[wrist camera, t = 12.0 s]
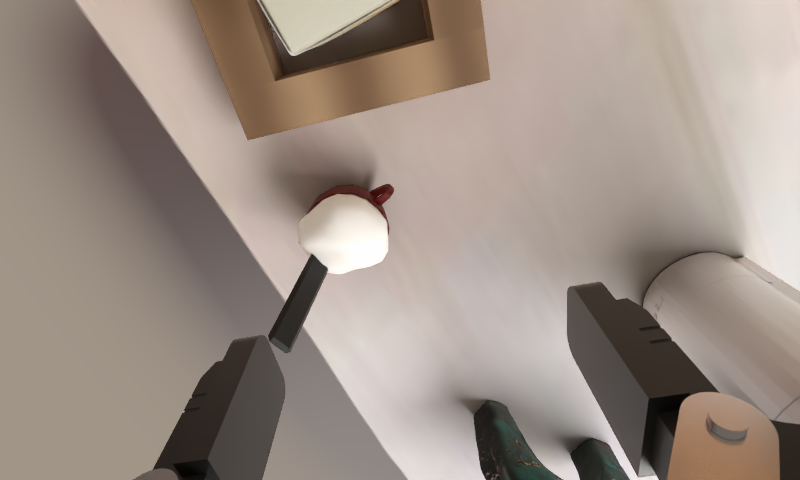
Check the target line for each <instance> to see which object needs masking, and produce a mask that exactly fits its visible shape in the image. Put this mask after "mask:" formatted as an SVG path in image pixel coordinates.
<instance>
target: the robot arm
mask: <svg viewBox="0 0 800 480" xmlns="http://www.w3.org/2000/svg"><path fill="white" fill-rule="evenodd" d="M567 337H568V343H569V347H570V350H571V353H572V355H573V357H574V359H575V361H576V363H577V365H578V367H579V369H580V371H581V372H582V374H583V376H584V378H585V380H586V382H587V384H588V385H589V387H590V389H591V391H592V393H593V395H594V397H595V398H596V400H597V402H598V404H599V406H600V408H601V410H602V411H603V413H604V415H605V417H606V419H607V421H608V423H609V424H610V426H611V428H612V430H613V432H614V434H615V435H616V437H617V439H618V441H619V443H620V445H621V447H622V448H623V450H624V452H625V454H626V456H627V458H628V460H629V461H630V463H631V465H632V467H633V469H634V471H635V473H636V474H637V476H638V477H645V476H653V475H657V477H658V479H659V480H800V292H799V291H798V290H796V289H795V288H793V287H792V286H790V285H788V284H787V283H785V282H784V281H782V280H781V279H779V278H777V277H776V276H774V275H773V274H771V273H770V272H768V271H767V270H765V269H763V268H762V267H760V266H759V265H757V264H756V263H754V262H752V261H751V260H749V259H748V258H746V257H743V258H737V259H734V258H731V257H729V256H727V255H724V254H720V253H715V252H710V253H700V254H695V255H691V256H688V257H686V258H683V259H681V260H679V261H677V262H675V263H674V264H672V265H670V266H669V267H668V268H666V269H665V270H664V271H662V272H661V273H660V274H659V275H658V276H657V277H656V278H655V280H654V281H653V282H652V284H651V285H650V287H649V288H648V290H647V292H646V295H645V297H644V302H643V307H641V306H639V305H638V304H636V303H634V302H632V301H631V300H629V299H627V298H626V299H620V300H616V299H615V298H614V297H613V296H612V294H611V293H610V292H609V291H608V289H607V288H606V287H605V286H604V285H603V284H602V283H601V282H596V283H589V284H583V285H577V286H571V287H569V288H568V292H567ZM284 398H285V382H284V377H283V374H282V372H281V370H280V367H279V365H278V363H277V360H276V358H275V356H274V353H273V351H272V349H271V346H270V344H269V342H268V340H267V338H266V337H265V336H263V335H259V336H253V337H247V338H241V339H235V340H233V342H232V343H231V345H230V347H229V349H228V351H227V353H226V355H225V357H224V359H223V361H218V362H216V363H215V364H214V365H213V366H212V367H211V368H210V369H209V370H208V371H207V372H206V373H205V374H204V375H203V377H202V378H201V379H200V381H199V383H198V385H197V387H196V388H195V390H194V392H193V394H192V398H191V399H190V400H189V402H188V404H187V405H186V407H185V409H184V410H185V412H184V413H182V415H181V417H180V419H179V421H178V423H177V425H176V426H175V428H174V430H173V432H172V434H171V436H170V438H169V440H168V442H167V443H166V445H165V447H164V449H163V451H162V453H161V455H160V457H159V459H158V461H157V463H156V464H155V466H154V468H153V470H151V471H148V472H146V473H144V474H142V475H140V476H138V477H137V478H135V479H134V480H262V478H263V475H264V471H265V467H266V464H267V460H268V457H269V453H270V449H271V446H272V442H273V438H274V434H275V431H276V428H277V424H278V421H279V417H280V412H281V410H282V406H283V403H284Z"/></svg>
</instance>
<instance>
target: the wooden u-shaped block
mask: <svg viewBox="0 0 800 480" xmlns="http://www.w3.org/2000/svg"><path fill="white" fill-rule="evenodd" d="M191 2H192V4H193V6H194V9H195V11H196V14H197V16H198V19H199V21H200V24H201V26H202V29H203V31H204V34H205V36H206V38H207V41H208V43H209V46H210V48H211V51H212V53H213V56H214V58H215V61H216V63H217V66H218V68H219V71H220V73H221V75H222V78H223V80H224V83H225V85H226V88H227V90H228V93H229V95H230V98H231V100H232V103H233V105H234V108H235V110H236V112H237V115H238V117H239V120H240V122H241V125H242V127H243V130H244V132H245V135H246V137H247V140H251V139H255V138H259V137H263V136H267V135H271V134H275V133H279V132H283V131H287V130H291V129H295V128H299V127H303V126H307V125H311V124H315V123H319V122H323V121H327V120H331V119H335V118H339V117H343V116H347V115H351V114H355V113H359V112H363V111H367V110H371V109H375V108H379V107H383V106H387V105H391V104H395V103H399V102H403V101H407V100H411V99H415V98H419V97H423V96H427V95H431V94H435V93H439V92H443V91H447V90H451V89H455V88H459V87H463V86H467V85H471V84H475V83H479V82H483V81H487V80H490V75H489V66H488V58H487V50H486V42H485V33H484V25H483V17H482V9H481V1H480V0H421V2H422V8H423V13H424V19H425V24H426V30H427V36H428V38H426V39H422V40H418V41H414V42H410V43H407V44H403V45H399V46H395V47H391V48H387V49H383V50H379V51H376V52H372V53H368V54H364V55H360V56H356V57H352V58H348V59H345V60H341V61H337V62H333V63H329V64H325V65H321V66H317V67H314V68H310V69H306V70H302V71H298V72H294V73H290V74H285V71H284V68H283V65H282V62H281V59H280V56H279V53H278V50H277V47H276V44H275V41H274V38H273V35H272V32H271V29H270V26H269V24H268V21H267V18H266V15H265V13H264V11H263V10H262V8H261V6H260V4H259V3H258V1H257V0H191Z"/></svg>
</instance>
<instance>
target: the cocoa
mask: <svg viewBox="0 0 800 480" xmlns="http://www.w3.org/2000/svg"><path fill="white" fill-rule="evenodd" d="M393 192H394V188H393V187H392V186H391V185H390V184H385V185H383V186H380V187H378V188H376V189H374V190H372V191H370V192H369V191H368V190H365V189H362V188H359V187H357V186H354V185H345V186H336V187H334V188H332V189H330V190H329V191H327V192H325V193H323V194H321V195H320V196H319V197H317V199H316V200H315V202H314V203H313V205H312V206H311V208H310V209H309V211H308V212H307V214H306V216H304V217H303V218H302V219H301V220H300V221H299V226H298V239H299V244H300V245H301V247H302V248H303V249H304V251H305V252H306V254H307V255H308V257H309V259H308V261H307V263H306V265H305V267H304V269H303V271H302V273H301V275H300V277H299V278H298V280H297V282H296V284H295V286H294V288H293V290H292V292H291V294H290V295H289V297H288V299H287V301H286V303H285V305H284V307H283V309H282V311H281V313H280V314H279V316H278V318H277V320H276V322H275V324H274V326H273V328H272V330H271V331H270V333H269V335H268V337H269V341H270V342H271V343H272V344H274V345H275V346H276V347H278V348H279V349H280V350H282V351H283V352H284V353H288V352H290V351H291V349H292V347H293V345H294V343H295V340H296V338H297V336H298V334H299V332H300V330H301V328H302V326H303V323H304V321H305V319H306V317H307V315H308V313H309V311H310V308H311V306H312V304H313V302H314V300H315V298H316V296H317V293H318V291H319V289H320V287H321V285H322V283H323V280H324V278H325V276H326V274H327V273H334V274H344V273H347V272H349V271H352V270H355V269H361V268H366V267H370V266H372V265H375V264H377V263H380V262H382V261H383V259H384V257H385V255H386V254H387V252H388V234H389V224H388V220H387V217H386V215H385V212H384V209H383V206H382V204H383V203H384V202H386V201H387V200H388V199H389V198H390V197H391V195H392V194H393ZM381 194H382V195H381ZM379 195H381V196H379ZM378 196H379V197H378Z"/></svg>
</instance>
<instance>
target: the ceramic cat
mask: <svg viewBox="0 0 800 480" xmlns="http://www.w3.org/2000/svg"><path fill="white" fill-rule="evenodd" d="M474 425H475V433H476V442H477V447H478V452H479V460H480V466H481V470H482V473H483V475H484V477H485V479H486V480H562V479H561V478H559V477H558V476H556V475H555V474H553V473H552V472H551V471H549V470H548V469H547V468H546V467H545V466H544V465H543V464H542V463H541V462H540V461H539V460H538V459H537V457H536V456H535V454H534V453H533V452H532V450H531V449H530V447H529V446H528V444H527V443H526V441H525V439H524V437H523V435H522V433H521V432H520V430H519V429H518V427H517V425H516V423H515V421H514V419H513V418H512V416H511V414H510V413H509V411H508V409H507V407H506V406H504V405H503V404H501V403H498V402H494V401H487V402H486V403H485V404H484V405H483V406H482V407H481V409H480V410H479V411H478V412H477V413H476V414H474ZM570 455H571V459H572V461H573V463H574V465H575V467H576V469H577V471H578V474H579V477H580V480H630V479H629V478H628V476H627V474H626V473H625V471H624V470H623V468H622V467H621V465H620V464H619V462H618V460H617V458H616V456H615V455H614V453H613V451H612V449H611V447H610V446H609V445H608V444H606V443H603V442H601V441H598V440H596V439H589V440H587V441H585V442H584V443H582V444H581V445H580V446H579V447H578V448H577V449H576V450H575V451H574V452H573V453H571V454H570Z"/></svg>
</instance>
